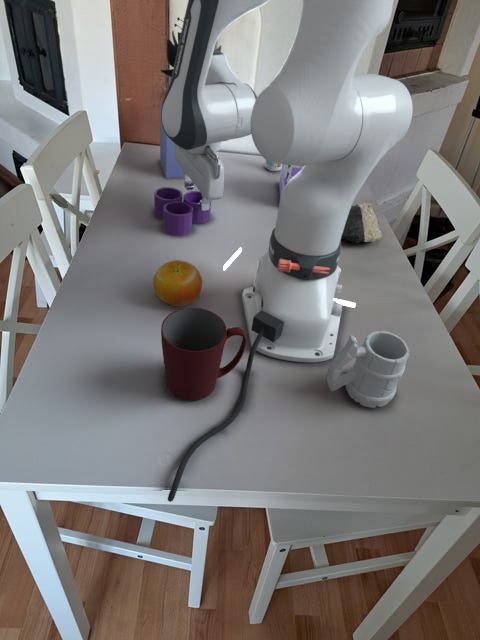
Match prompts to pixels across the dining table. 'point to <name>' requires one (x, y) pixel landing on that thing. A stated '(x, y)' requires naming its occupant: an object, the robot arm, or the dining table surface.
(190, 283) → the fruit
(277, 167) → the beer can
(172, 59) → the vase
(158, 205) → the purple cup
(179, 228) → the dish
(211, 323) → the mug
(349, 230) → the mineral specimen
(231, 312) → the dining table surface
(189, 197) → the purple short cylinder
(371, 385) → the mug
